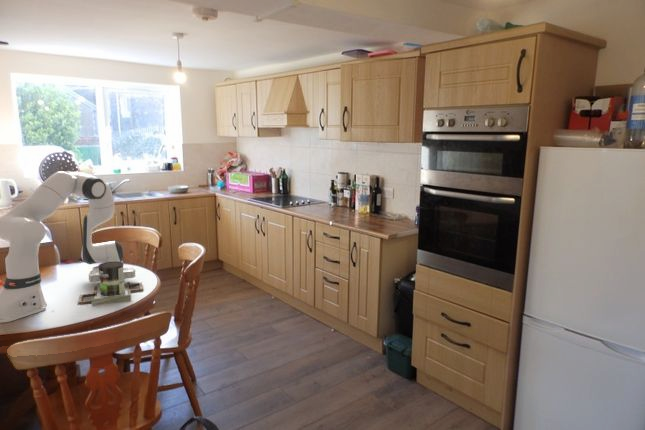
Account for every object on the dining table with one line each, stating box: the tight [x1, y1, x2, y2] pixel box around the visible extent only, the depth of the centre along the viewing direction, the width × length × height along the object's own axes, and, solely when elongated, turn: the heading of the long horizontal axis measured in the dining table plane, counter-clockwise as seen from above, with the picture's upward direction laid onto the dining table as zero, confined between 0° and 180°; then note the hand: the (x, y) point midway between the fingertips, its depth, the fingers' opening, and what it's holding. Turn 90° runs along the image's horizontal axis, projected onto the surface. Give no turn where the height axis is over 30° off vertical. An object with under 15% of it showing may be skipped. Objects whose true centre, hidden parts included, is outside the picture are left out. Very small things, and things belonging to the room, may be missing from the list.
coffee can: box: [97, 261, 126, 298], centre depth 197 cm, size 10×10×14 cm
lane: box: [77, 281, 144, 306], centre depth 197 cm, size 24×26×2 cm
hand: (112, 279), depth 201 cm, fingers closed, pressing on coffee can
